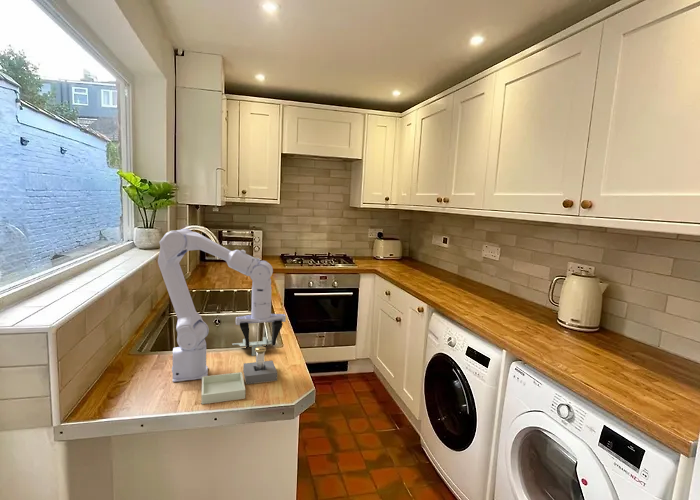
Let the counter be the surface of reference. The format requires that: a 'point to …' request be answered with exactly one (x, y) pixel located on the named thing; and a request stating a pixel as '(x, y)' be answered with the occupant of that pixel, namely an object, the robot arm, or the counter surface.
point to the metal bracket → (254, 344)
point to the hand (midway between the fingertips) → (260, 345)
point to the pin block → (259, 373)
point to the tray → (222, 388)
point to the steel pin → (260, 357)
